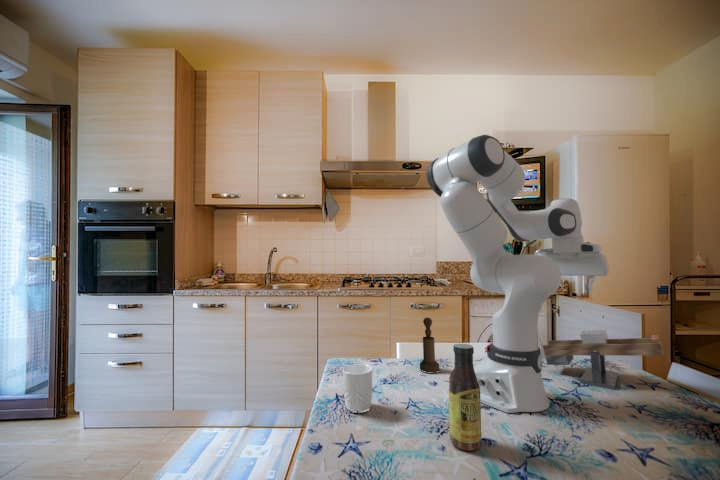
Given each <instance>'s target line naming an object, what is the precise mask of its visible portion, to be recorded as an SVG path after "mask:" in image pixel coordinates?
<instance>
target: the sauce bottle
mask: <svg viewBox="0 0 720 480" xmlns="http://www.w3.org/2000/svg"><path fill="white" fill-rule="evenodd" d="M474 351H475V350H474V346H473V345H472V344H469V343H455V344H453V353H454V363H453V364H454V368H453V369H452V370H451V372H450V375H449V379H448V380H449V383H448V384H449V386H448V387H449V388H448V401H449V402H448V404H449V406H448V407H449V409H448V410H449V411H448V412H449V419H448V421H449V422H448V423H449V436H450V437H449V438H450V442H451V444H452V445H453V447H455V448H456V449H458V450H461V451H466V452H473V451H477V450H478V449H479V448H480V447H481V444H482V411H481V410H482V408H481V406H482V405H481V402H480V386H479V384H478V381H477V378H476V375H475V371H474V368H473V365H474V359H473V358H474Z"/></svg>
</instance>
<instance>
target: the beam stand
mask: <svg viewBox="0 0 720 480" xmlns="http://www.w3.org/2000/svg"><path fill="white" fill-rule="evenodd" d="M590 354H591V355H590V366H591V367H588V366H587V367H586V368H585V370H584V371H583V373H582V375H581V377H580V379H579V381H580V384H585V385H589V386H595V387H598V388H604V389H609V390H615V389H616V386H617V383H618V377H619V372H617V371H612V370H607V366H606V357H605V356H606V355H600V354H599V352H594V351H591V352H590Z"/></svg>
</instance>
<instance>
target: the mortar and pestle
mask: <svg viewBox="0 0 720 480" xmlns="http://www.w3.org/2000/svg"><path fill="white" fill-rule="evenodd" d="M422 321H423V325H424V327H425V330H424V333H425V336H422V350H423V353H422V354H423V355H422V356H423V360H421V361H420V363H419V370H420V369H421V370H423V371H426V372H437V371H439V372H440V363H439V362H437V360H436V354H435V337H434V336H432V330H431V326H432V325H433V320H432V318H431V317H425V318H423V320H422Z"/></svg>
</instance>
